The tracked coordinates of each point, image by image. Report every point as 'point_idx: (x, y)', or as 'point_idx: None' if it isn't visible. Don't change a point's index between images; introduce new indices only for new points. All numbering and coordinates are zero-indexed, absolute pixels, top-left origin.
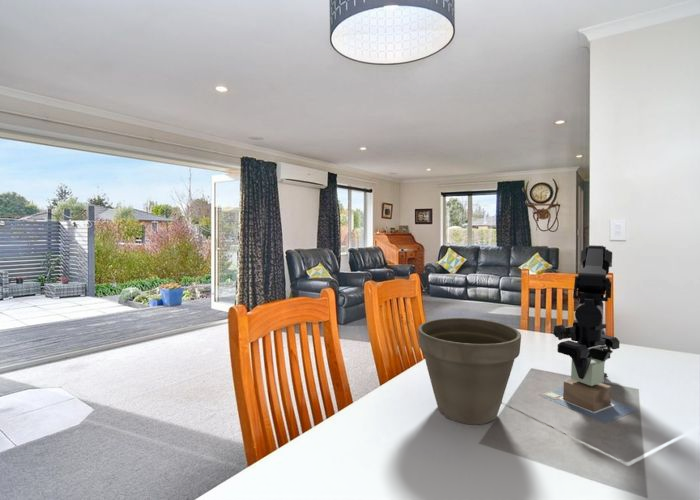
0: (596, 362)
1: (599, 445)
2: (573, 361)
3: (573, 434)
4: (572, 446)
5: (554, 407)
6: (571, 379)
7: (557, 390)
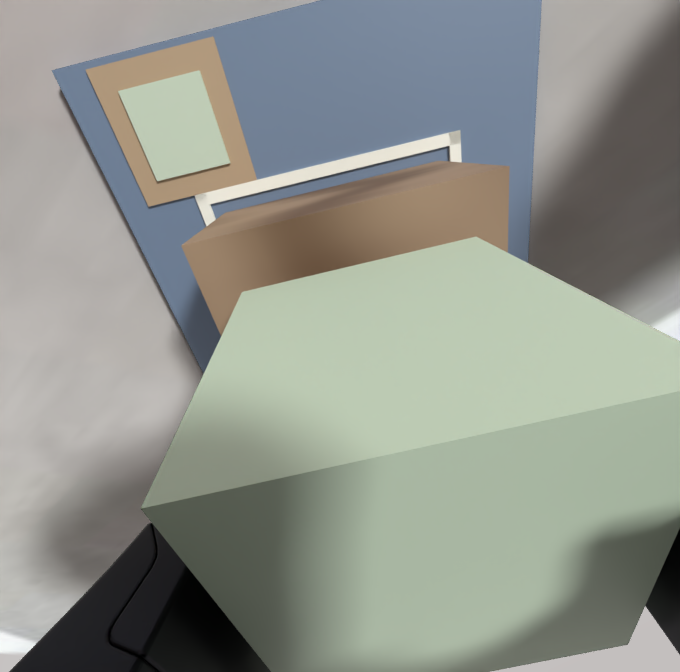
0: (474, 658)
1: (119, 542)
2: (59, 627)
3: (59, 489)
4: (9, 537)
5: (106, 274)
6: (309, 221)
7: (299, 34)
